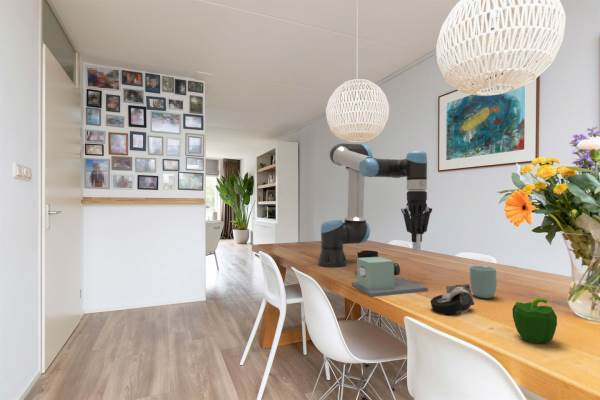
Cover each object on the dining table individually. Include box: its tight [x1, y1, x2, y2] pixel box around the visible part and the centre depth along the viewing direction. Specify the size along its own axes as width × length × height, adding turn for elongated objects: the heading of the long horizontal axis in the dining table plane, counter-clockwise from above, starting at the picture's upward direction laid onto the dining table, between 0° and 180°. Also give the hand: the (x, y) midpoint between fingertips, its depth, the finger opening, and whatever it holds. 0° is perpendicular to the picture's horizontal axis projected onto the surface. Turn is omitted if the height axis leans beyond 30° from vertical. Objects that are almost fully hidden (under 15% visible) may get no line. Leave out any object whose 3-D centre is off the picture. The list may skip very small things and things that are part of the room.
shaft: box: [358, 262, 401, 276], centre depth 118 cm, size 5×16×5 cm, turn 105°
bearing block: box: [351, 256, 429, 297], centre depth 119 cm, size 16×23×11 cm
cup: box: [469, 265, 498, 299], centre depth 106 cm, size 8×8×10 cm
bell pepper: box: [511, 297, 558, 344], centre depth 73 cm, size 8×8×10 cm
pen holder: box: [357, 249, 379, 258], centre depth 144 cm, size 9×9×10 cm
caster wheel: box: [430, 283, 475, 315], centre depth 93 cm, size 7×11×10 cm
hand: (416, 250), depth 123 cm, fingers closed
